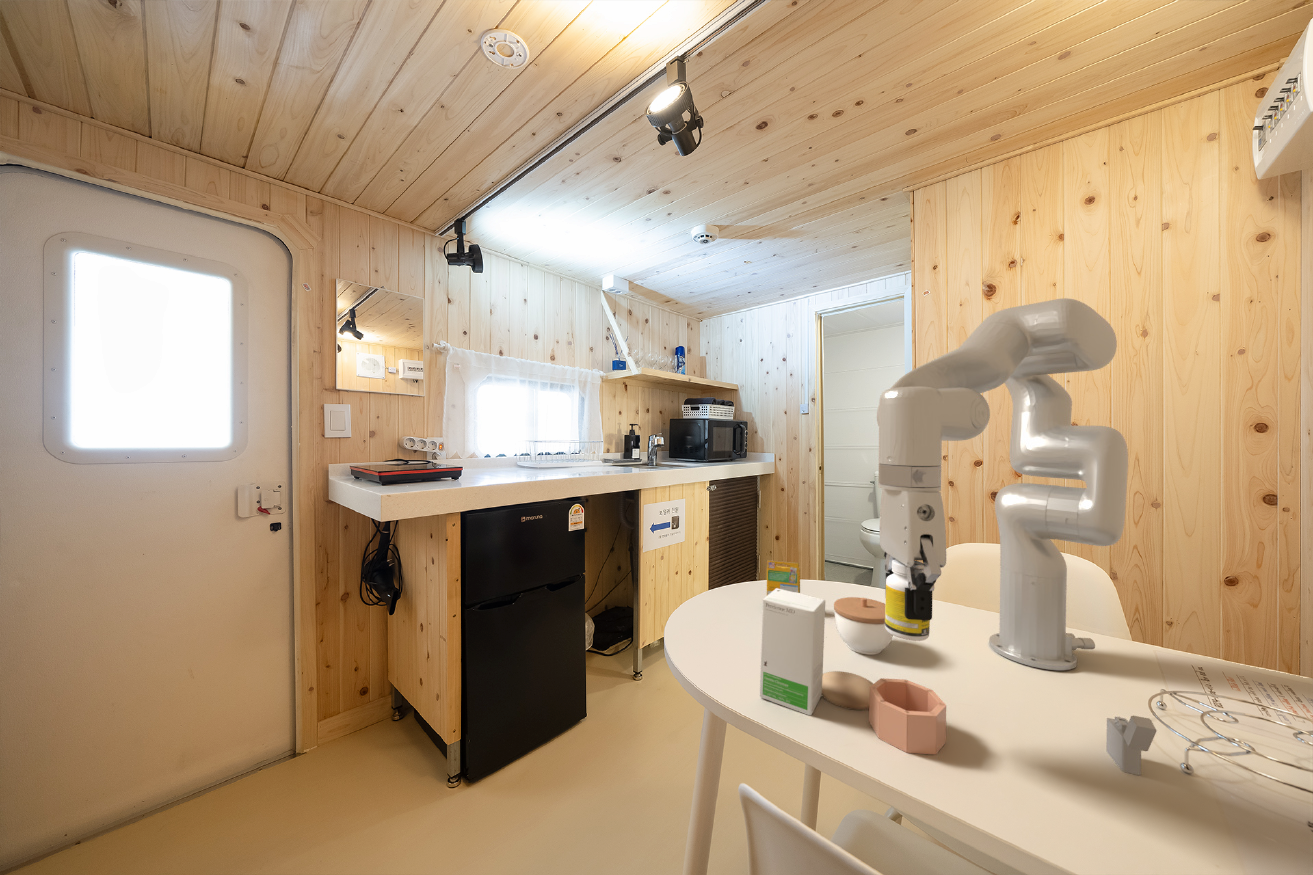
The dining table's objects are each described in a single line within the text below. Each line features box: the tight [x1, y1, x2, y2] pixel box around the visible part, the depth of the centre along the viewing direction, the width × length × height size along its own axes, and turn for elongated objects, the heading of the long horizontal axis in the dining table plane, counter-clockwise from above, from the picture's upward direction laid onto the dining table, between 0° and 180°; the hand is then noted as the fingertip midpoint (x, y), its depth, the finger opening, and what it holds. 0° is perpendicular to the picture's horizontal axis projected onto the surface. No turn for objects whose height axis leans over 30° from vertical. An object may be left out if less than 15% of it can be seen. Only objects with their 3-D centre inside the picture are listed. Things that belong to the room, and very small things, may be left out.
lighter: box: [1105, 715, 1158, 776], centre depth 56 cm, size 7×2×8 cm, turn 156°
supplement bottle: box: [885, 559, 931, 642], centre depth 63 cm, size 5×5×10 cm
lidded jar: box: [833, 596, 893, 656], centre depth 88 cm, size 11×11×9 cm
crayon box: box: [766, 559, 801, 596], centre depth 106 cm, size 7×3×12 cm, turn 69°
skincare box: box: [759, 588, 826, 716], centre depth 71 cm, size 8×7×16 cm
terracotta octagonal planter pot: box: [868, 677, 947, 756], centre depth 63 cm, size 9×9×5 cm
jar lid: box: [821, 670, 874, 711], centre depth 73 cm, size 9×9×1 cm
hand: (907, 608), depth 63 cm, fingers closed on supplement bottle, 5 cm apart
